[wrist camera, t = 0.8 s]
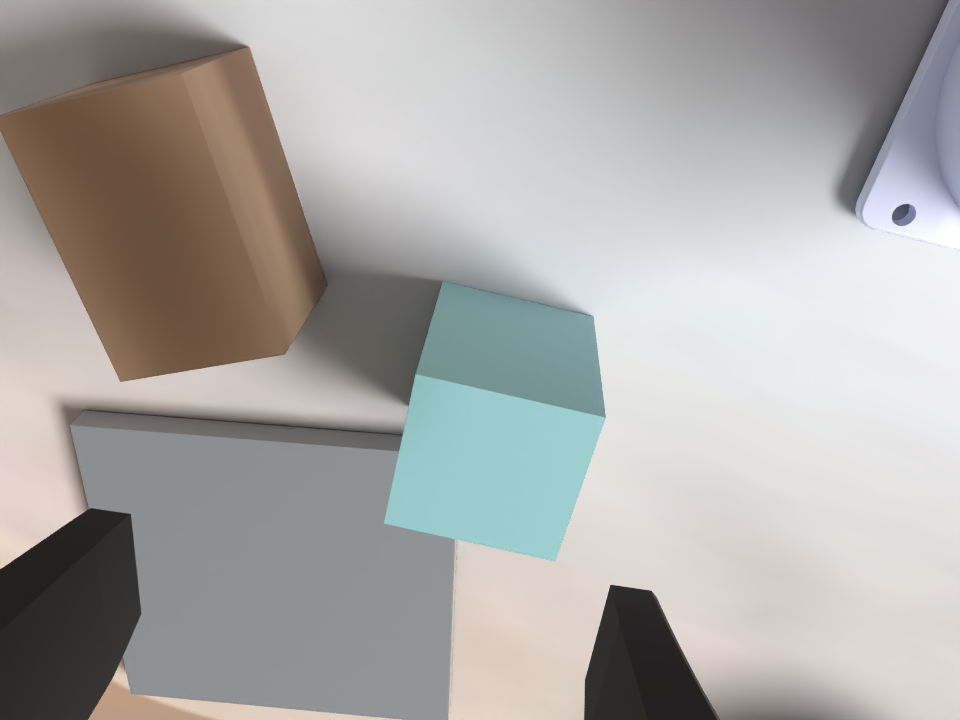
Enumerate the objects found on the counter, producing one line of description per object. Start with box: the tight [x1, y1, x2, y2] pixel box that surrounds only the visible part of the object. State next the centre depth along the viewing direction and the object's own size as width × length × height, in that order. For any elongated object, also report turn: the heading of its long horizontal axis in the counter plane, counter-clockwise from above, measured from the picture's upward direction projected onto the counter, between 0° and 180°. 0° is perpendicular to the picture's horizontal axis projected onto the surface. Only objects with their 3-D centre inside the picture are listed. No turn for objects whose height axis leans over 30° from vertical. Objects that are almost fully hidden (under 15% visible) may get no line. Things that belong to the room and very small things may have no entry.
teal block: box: [384, 281, 606, 561], centre depth 20 cm, size 4×4×5 cm
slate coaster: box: [70, 410, 457, 720], centre depth 26 cm, size 11×11×1 cm
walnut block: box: [0, 47, 327, 382], centre depth 19 cm, size 4×6×4 cm, turn 12°
